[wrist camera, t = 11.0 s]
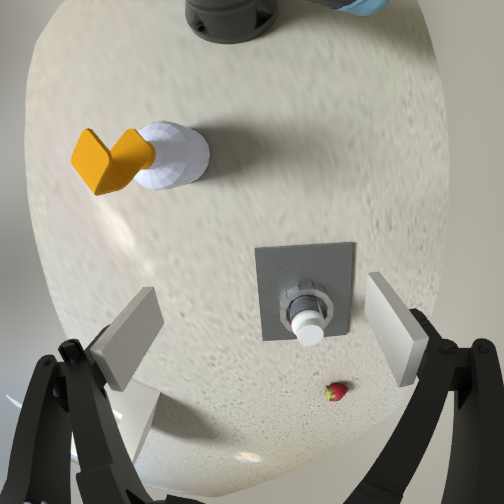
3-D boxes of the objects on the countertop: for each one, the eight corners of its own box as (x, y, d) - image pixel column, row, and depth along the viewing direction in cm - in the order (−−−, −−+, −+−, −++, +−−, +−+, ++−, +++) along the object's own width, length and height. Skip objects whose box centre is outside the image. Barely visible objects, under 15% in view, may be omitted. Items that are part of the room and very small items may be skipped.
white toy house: (151, 424, 64) (125, 488, 41) (106, 402, 64) (72, 461, 40) (160, 392, 58) (125, 470, 35) (107, 365, 57) (60, 434, 34)
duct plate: (254, 247, 44) (253, 254, 41) (351, 242, 43) (356, 247, 40) (263, 338, 50) (262, 348, 47) (345, 332, 48) (349, 341, 45)
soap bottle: (222, 156, 40) (157, 150, 17) (181, 195, 42) (89, 236, 19) (185, 117, 38) (93, 80, 15) (147, 157, 41) (38, 164, 17)
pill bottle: (283, 303, 46) (285, 332, 38) (309, 287, 45) (316, 314, 36) (299, 323, 47) (304, 354, 39) (324, 309, 46) (334, 338, 38)
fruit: (342, 392, 54) (346, 408, 49) (319, 390, 54) (322, 406, 49) (350, 380, 52) (355, 396, 48) (326, 377, 52) (329, 394, 48)
